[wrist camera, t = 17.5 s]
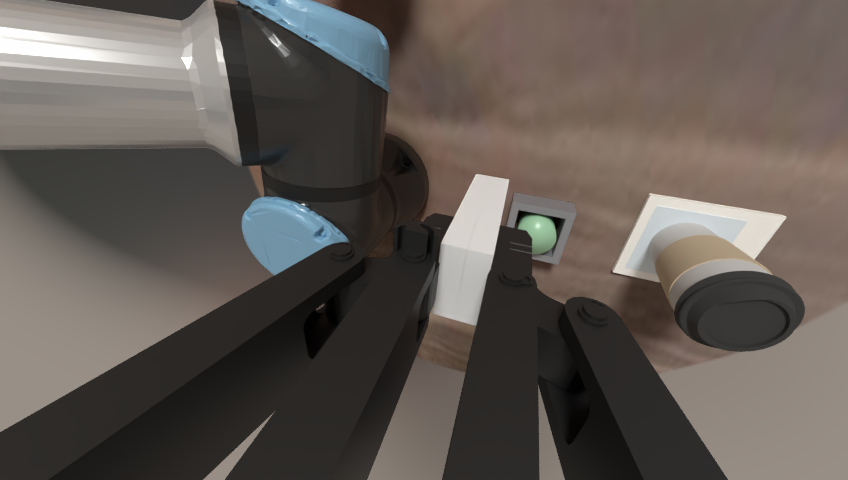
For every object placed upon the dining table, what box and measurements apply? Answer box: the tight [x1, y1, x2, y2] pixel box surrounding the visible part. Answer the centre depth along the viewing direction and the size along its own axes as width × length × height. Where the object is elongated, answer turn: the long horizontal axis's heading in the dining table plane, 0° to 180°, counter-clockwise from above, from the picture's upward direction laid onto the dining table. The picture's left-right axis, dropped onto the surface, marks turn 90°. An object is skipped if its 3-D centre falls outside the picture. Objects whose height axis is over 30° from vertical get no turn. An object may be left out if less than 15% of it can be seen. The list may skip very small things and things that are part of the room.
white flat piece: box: [612, 193, 786, 282], centre depth 40 cm, size 14×12×1 cm
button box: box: [506, 193, 577, 265], centre depth 43 cm, size 8×8×4 cm
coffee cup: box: [649, 222, 805, 352], centre depth 34 cm, size 9×9×15 cm
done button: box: [517, 211, 556, 254], centre depth 43 cm, size 5×5×4 cm
